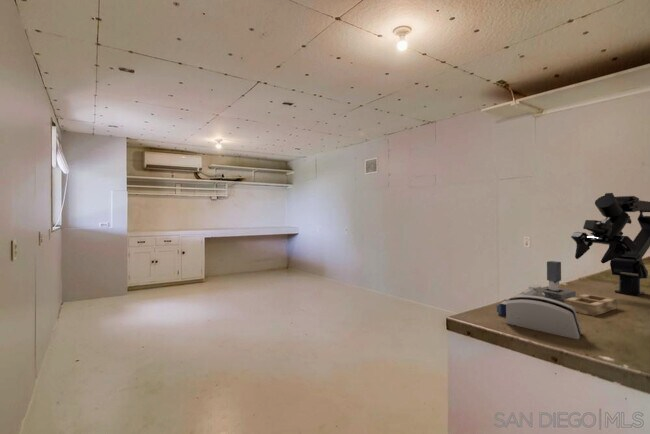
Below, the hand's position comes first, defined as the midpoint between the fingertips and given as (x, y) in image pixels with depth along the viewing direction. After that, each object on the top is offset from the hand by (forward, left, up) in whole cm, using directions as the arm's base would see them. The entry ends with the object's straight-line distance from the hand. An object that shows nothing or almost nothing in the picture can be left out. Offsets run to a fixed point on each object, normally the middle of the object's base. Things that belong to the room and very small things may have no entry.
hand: (588, 260), depth 115 cm
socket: (+10, -6, -13) cm, 18 cm away
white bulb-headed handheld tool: (+29, -6, -14) cm, 33 cm away
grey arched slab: (+44, +8, -14) cm, 47 cm away
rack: (+13, +6, -13) cm, 20 cm away
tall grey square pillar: (+10, -6, -13) cm, 18 cm away
